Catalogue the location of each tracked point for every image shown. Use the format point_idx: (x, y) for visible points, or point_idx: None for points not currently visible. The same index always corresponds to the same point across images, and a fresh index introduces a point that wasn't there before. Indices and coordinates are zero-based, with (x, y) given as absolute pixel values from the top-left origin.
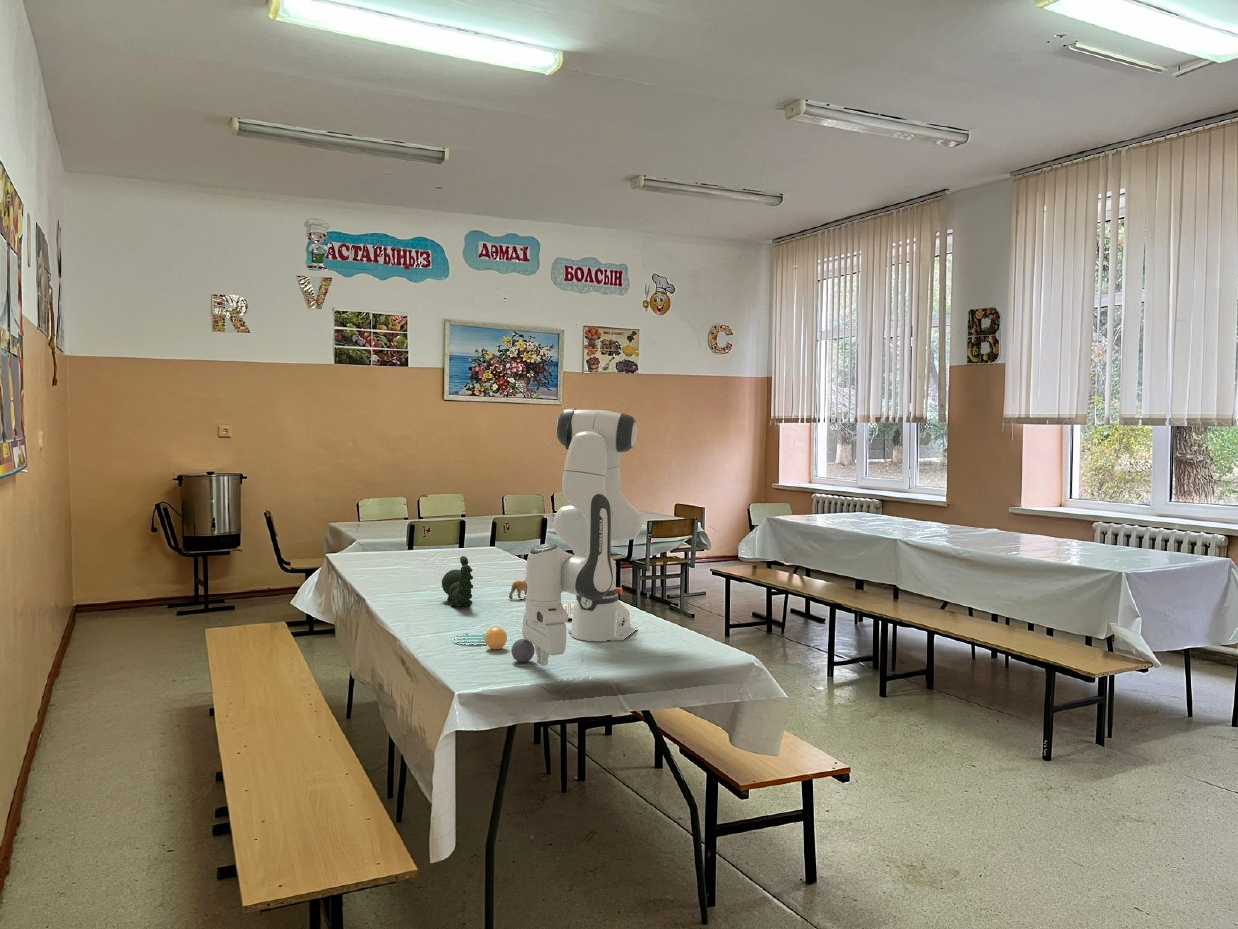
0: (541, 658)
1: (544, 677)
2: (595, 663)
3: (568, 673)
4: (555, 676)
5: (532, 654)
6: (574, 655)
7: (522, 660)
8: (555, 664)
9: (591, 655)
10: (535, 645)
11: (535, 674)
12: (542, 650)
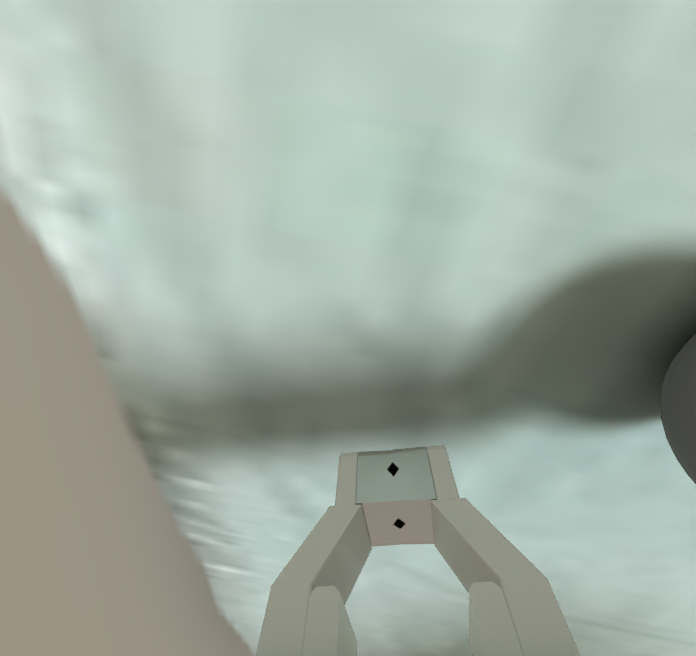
0: (328, 511)
1: (241, 400)
2: (440, 625)
3: (306, 519)
4: (256, 458)
5: (684, 469)
6: (629, 606)
7: (681, 350)
8: (514, 511)
9: (576, 644)
10: (551, 642)
11: (326, 364)
12: (265, 633)
